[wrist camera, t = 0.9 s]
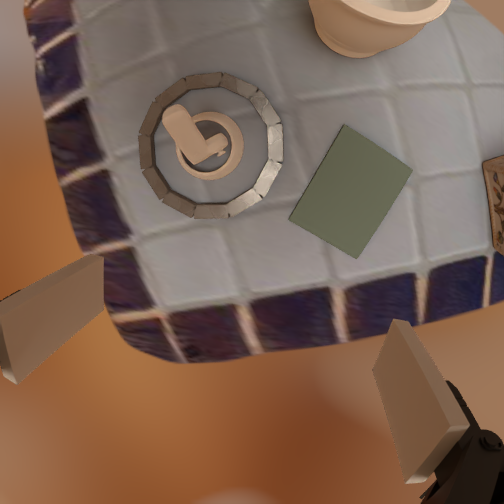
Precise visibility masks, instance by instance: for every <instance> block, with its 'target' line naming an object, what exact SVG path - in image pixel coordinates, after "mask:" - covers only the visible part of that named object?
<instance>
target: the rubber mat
mask: <svg viewBox="0 0 504 504" xmlns="http://www.w3.org/2000/svg"><path fill="white" fill-rule="evenodd" d="M412 171H413V170H412V169H410V168H409V167H408V166H406V165H405V164H404V163H402V162H401V161H399V160H398V159H397V158H395V157H394V156H392V155H391V154H389V153H388V152H387V151H385V150H384V149H382V148H381V147H379V146H378V145H376V144H375V143H373V142H372V141H370V140H369V139H367V138H365V137H364V136H362V135H361V134H359V133H358V132H356V131H354V130H353V129H351V128H350V127H348V126H346V125H345V124H344V125H343V127H342V129H341V130H340V132H339V134H338V135H337V137H336V139H335V141H334V142H333V144H332V146H331V148H330V149H329V151H328V153H327V155H326V156H325V158H324V160H323V161H322V163H321V165H320V167H319V168H318V170H317V172H316V173H315V175H314V177H313V179H312V180H311V182H310V184H309V185H308V187H307V189H306V190H305V192H304V194H303V196H302V197H301V199H300V201H299V202H298V204H297V206H296V208H295V209H294V211H293V213H292V214H291V216H290V218H289V221H291V222H293V223H295V224H297V225H298V226H300V227H302V228H304V229H305V230H307V231H309V232H311V233H312V234H314V235H316V236H318V237H319V238H321V239H323V240H324V241H326V242H328V243H330V244H331V245H333V246H335V247H336V248H338V249H340V250H342V251H343V252H345V253H347V254H348V255H350V256H352V257H353V258H355V259H357V258H358V257H359V255H360V254H361V252H362V251H363V249H364V248H365V246H366V245H367V243H368V242H369V240H370V239H371V237H372V236H373V234H374V233H375V231H376V230H377V228H378V227H379V225H380V223H381V222H382V220H383V219H384V217H385V216H386V214H387V212H388V211H389V209H390V208H391V206H392V204H393V203H394V201H395V200H396V198H397V196H398V195H399V193H400V191H401V190H402V188H403V186H404V185H405V183H406V181H407V180H408V178H409V176H410V175H411V173H412Z"/></svg>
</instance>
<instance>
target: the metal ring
mask: <svg viewBox="0 0 504 504" xmlns="http://www.w3.org/2000/svg"><path fill="white" fill-rule="evenodd" d="M214 87H224V88H226V89H228V90H230V91H232V92H235V93H237V94H239V95H241V96H243V97H245V98H247V99H250V101H251V102H252V104H253V105H254V107H255V108H256V110H257V111H258V113H259V114H260V116H261V117H262V119H263V120H264V122H265V123H266V125H267V128H268V157H269V160H268V162H267V163H266V165H265V167H264V169H263V171H262V173H261V174H260V176H259V178H258V180H257V182H256V184H255V185H254V187H253V188H251V189H250V190H248V191H246V192H245V193H243V194H241V195H240V196H238V197H236V198H235V199H233V200H232V201H230V202H228V203H204V204H197V203H195V202H194V201H192V200H190V199H188V198H186V197H184V196H182V195H180V194H179V193H177V192H175V191H173V190H171V188H170V186H169V185H168V183H167V182H166V180H165V179H164V177H163V176H162V174H161V172H160V171H159V169H158V168H157V166H156V161H155V147H154V134H155V132H156V130H157V127H158V125H159V123H160V121H161V119H162V116H163V113H164V111H165V110H166V108H167V107H169V106H170V105H171V104H173V103H174V102H175V101H177V100H178V99H179V98H181V97H182V96H184V95H185V94H186V93H188V92H189V91H191V90H196V89H205V88H214ZM258 90H259V88H258V87H256V86H253V85H251V84H249V83H247V82H245V81H243V80H240V79H238V78H236V77H234V76H231V75H229V74H227V73H224V75H223V73H222V72H217V73H208V74H200V75H192V76H186V79H184V78H182V79H180V80H179V81H178V82H176V83H175V84H173V85H172V86H171V87H169V88H168V89H167V90H165V91H164V92H163V93H162V94H160V95H159V96H158V97H156V98H155V100H156V101H157V102H152V104H151V106H150V108H149V111H148V113H147V115H146V117H145V120H144V122H143V124H142V126H141V129H140V131H139V133H141V134H143V135H140V136H138V139H139V153H140V165H141V169H145V170H144V171H143V172H142V173H143V175H144V176H145V178H146V179H147V181H148V183H149V184H150V186H151V187H152V189H153V190H154V192H155V193H156V195H157V196H158V198H159V200H161V199H162V198H164V199H163V201H162V202H163V203H165V204H166V205H168V206H170V207H172V208H174V209H176V210H178V211H179V212H181V213H183V214H185V215H187V216H189V217H190V218H192V217H193V216H194V219H208V218H229V217H230V216H231V217H233V216H235V215H236V214H238V213H240V212H241V211H243V210H245V209H246V208H248V207H250V206H252V205H253V204H255V203H257V202H258V201H260V200H262V199H263V197H262V196H264V197H265V195H266V193H267V191H268V190H269V188H270V186H271V184H272V182H273V181H274V179H275V177H276V175H277V174H278V172H279V170H280V168H281V166H282V165H283V164H282V163H280V162H278V161H284V157H283V125H282V124H278V123H279V122H281V120H280V118H279V117H278V115H277V114H276V112H275V110H274V109H273V107H272V106H271V104H270V103H269V101H268V100H267V98H266V97H265V95H264V94H263V92H262V91H261V90H260V91H258Z"/></svg>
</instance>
